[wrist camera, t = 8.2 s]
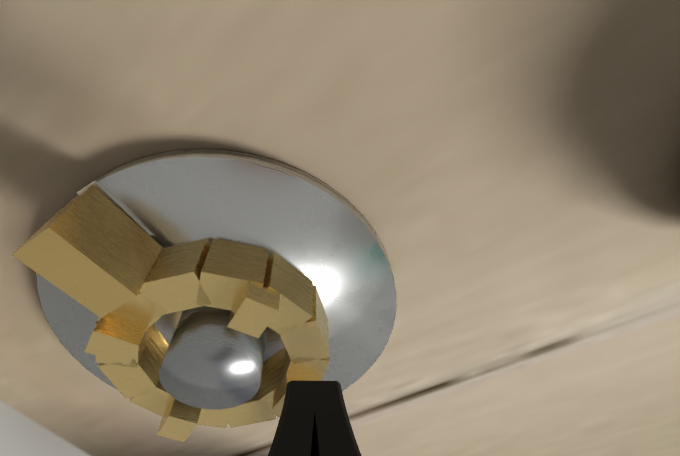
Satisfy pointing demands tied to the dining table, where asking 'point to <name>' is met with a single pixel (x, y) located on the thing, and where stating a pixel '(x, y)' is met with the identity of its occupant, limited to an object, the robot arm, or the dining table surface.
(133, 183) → the flange
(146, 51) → the dining table surface
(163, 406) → the ring nut
